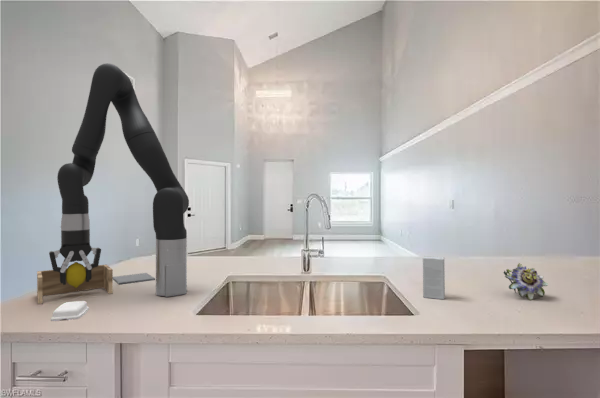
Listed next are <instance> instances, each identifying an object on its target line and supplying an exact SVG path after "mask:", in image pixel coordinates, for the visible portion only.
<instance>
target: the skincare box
mask: <svg viewBox="0 0 600 398" xmlns="http://www.w3.org/2000/svg"><path fill="white" fill-rule="evenodd" d="M445 272H446V271H445V257H443V256H425V255H424V256H423V258H422V297H423V298H426V299H437V300H445V297H446V292H445V291H446V286H445V285H446V282H445V277H446V275H445Z"/></svg>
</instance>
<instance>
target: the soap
mask: <svg viewBox="0 0 600 398" xmlns="http://www.w3.org/2000/svg"><path fill="white" fill-rule="evenodd" d="M89 310H90V307H89V306H88V302H87V301H85V300H77V301H76V300H75V301H66V302H64V303H62V304H61V305H59V306H58V307H57V308H56V309H54V311H53V312H52V316H51V317H50V321H51V322H56V321H57V322H59V321H62V320H67V321H72V319H73V320H79V319H81V318H82V317H84V315H86V314H87V312H88V311H89Z"/></svg>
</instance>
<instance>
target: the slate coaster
mask: <svg viewBox="0 0 600 398" xmlns="http://www.w3.org/2000/svg"><path fill="white" fill-rule="evenodd" d="M113 281H114V282H115V283H117V284H118V285H126V284H133V283H134V284H135V283H143V282H149V281H156V277H154V276H152V275H150V274H149V273H148V272H142V273H134V274H133V273H132V274H125V275H118V276H117V275H116V276H113Z"/></svg>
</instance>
